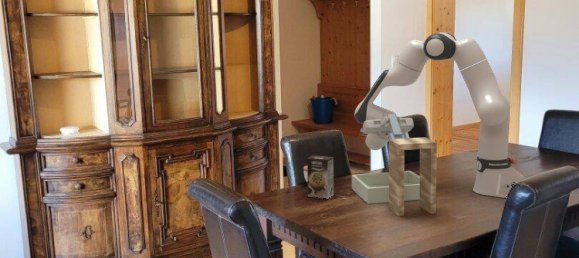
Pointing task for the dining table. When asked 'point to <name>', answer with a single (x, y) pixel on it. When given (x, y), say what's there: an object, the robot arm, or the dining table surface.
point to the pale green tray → (384, 186)
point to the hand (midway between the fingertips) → (393, 118)
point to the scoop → (395, 128)
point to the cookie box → (320, 176)
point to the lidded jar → (306, 173)
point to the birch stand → (426, 173)
